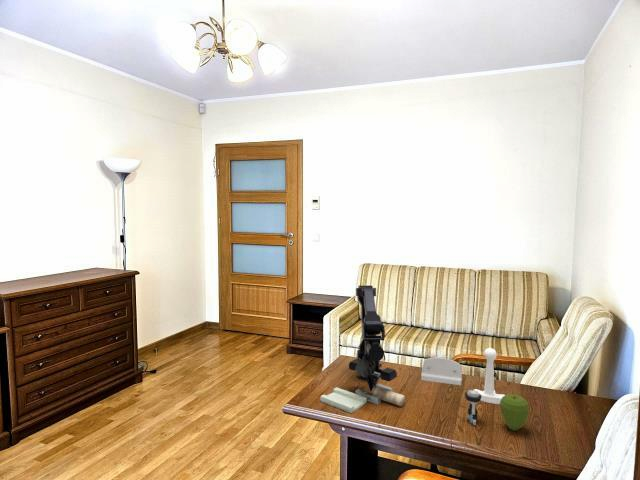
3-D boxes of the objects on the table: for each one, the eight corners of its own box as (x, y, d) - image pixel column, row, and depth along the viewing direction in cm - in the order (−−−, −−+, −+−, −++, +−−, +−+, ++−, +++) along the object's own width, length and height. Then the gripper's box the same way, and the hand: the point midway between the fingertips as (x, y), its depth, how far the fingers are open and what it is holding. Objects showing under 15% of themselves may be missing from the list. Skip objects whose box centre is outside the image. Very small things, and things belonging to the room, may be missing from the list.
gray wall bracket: (420, 379, 173) (421, 355, 176) (421, 379, 178) (422, 355, 180) (462, 385, 168) (462, 360, 170) (462, 384, 172) (462, 360, 175)
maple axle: (372, 399, 157) (370, 391, 156) (377, 392, 160) (375, 384, 159) (400, 408, 150) (399, 400, 148) (405, 401, 152) (403, 393, 151)
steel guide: (370, 387, 166) (371, 381, 166) (392, 394, 160) (392, 388, 160) (355, 396, 158) (355, 390, 158) (378, 404, 152) (378, 398, 151)
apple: (533, 430, 134) (535, 396, 133) (518, 438, 130) (520, 403, 129) (508, 419, 141) (510, 386, 141) (493, 426, 137) (495, 392, 136)
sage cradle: (336, 392, 162) (336, 387, 162) (366, 402, 153) (366, 397, 153) (320, 401, 154) (320, 396, 154) (351, 413, 145) (351, 407, 145)
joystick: (472, 399, 156) (474, 347, 154) (475, 391, 163) (476, 342, 161) (504, 405, 151) (506, 352, 149) (505, 397, 158) (507, 346, 156)
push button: (482, 427, 136) (483, 398, 135) (466, 425, 137) (466, 396, 136) (479, 417, 143) (479, 389, 142) (462, 415, 144) (463, 388, 143)
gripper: (340, 351, 158) (340, 391, 159) (382, 363, 146) (381, 406, 147) (356, 344, 167) (356, 381, 168) (397, 355, 155) (397, 395, 156)
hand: (371, 390), depth 159 cm, fingers closed
